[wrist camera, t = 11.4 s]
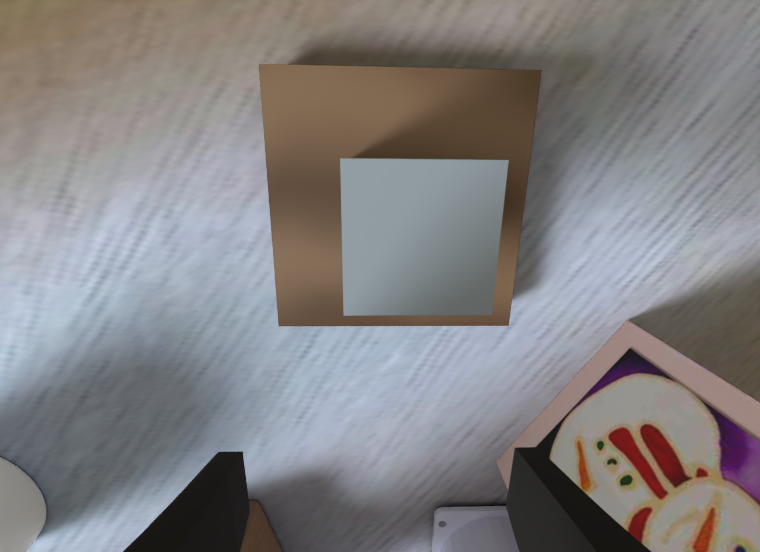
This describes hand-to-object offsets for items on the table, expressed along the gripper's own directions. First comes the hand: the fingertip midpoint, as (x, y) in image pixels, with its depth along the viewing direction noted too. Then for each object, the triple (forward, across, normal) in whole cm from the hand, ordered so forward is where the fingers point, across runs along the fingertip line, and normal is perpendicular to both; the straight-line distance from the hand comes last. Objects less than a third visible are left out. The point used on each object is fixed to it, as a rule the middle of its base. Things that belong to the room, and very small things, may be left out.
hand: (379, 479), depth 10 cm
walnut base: (+10, -1, -6) cm, 12 cm away
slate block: (+8, -1, -6) cm, 10 cm away
